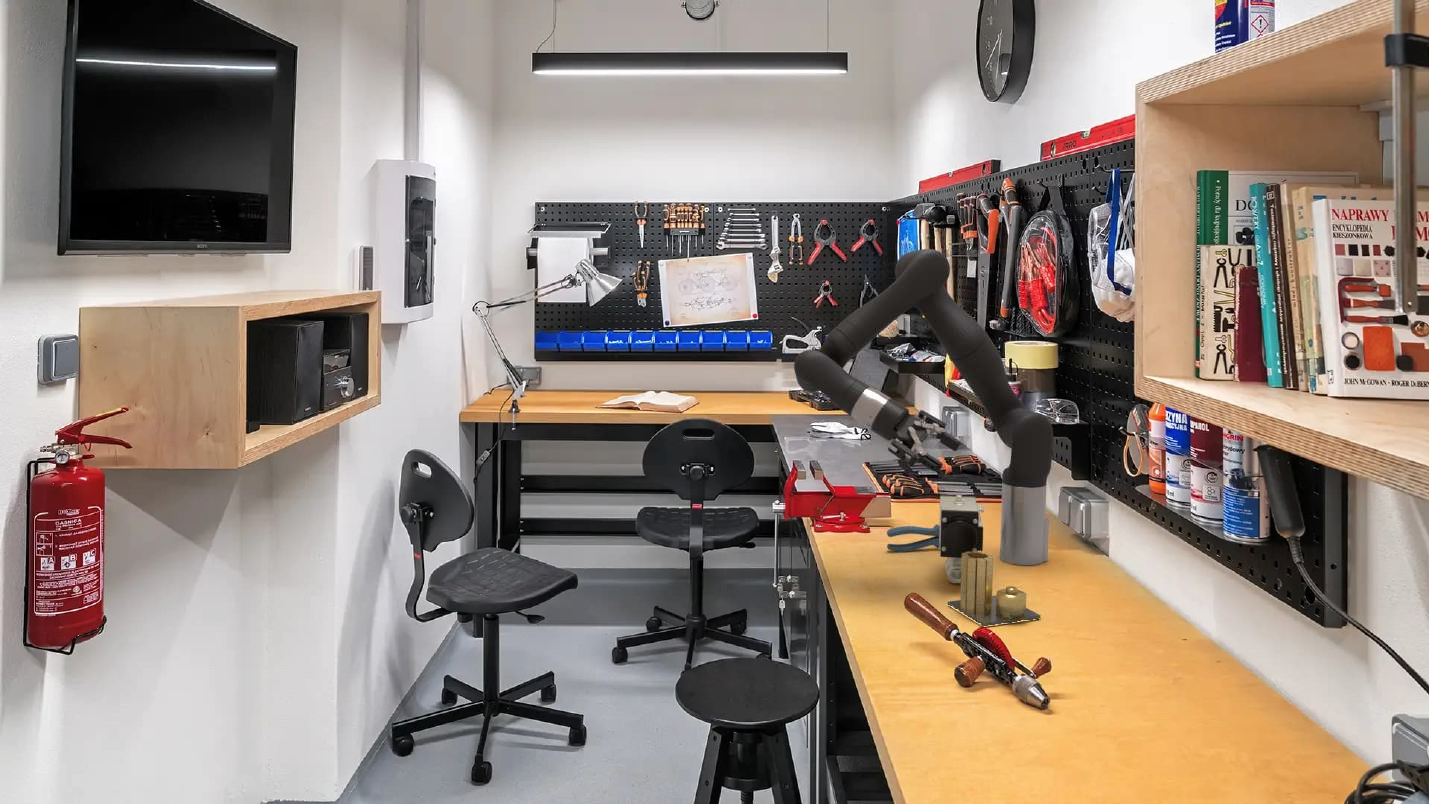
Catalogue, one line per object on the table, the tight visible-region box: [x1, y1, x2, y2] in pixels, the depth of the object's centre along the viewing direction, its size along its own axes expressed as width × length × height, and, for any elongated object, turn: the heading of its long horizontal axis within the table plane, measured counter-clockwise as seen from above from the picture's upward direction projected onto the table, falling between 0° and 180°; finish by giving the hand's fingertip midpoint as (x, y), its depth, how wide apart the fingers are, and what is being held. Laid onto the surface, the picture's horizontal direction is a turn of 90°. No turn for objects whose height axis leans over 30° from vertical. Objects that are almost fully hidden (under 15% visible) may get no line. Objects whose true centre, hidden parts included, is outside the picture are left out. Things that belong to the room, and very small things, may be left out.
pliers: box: [886, 523, 940, 553], centre depth 216 cm, size 20×2×6 cm, turn 98°
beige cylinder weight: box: [996, 585, 1027, 620], centre depth 172 cm, size 5×5×5 cm
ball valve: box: [939, 494, 985, 584], centre depth 194 cm, size 18×8×18 cm, turn 168°
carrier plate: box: [947, 594, 1042, 627], centre depth 175 cm, size 12×12×5 cm
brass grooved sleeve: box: [960, 551, 994, 613], centre depth 176 cm, size 6×6×10 cm
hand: (949, 457), depth 183 cm, fingers open, 8 cm apart
